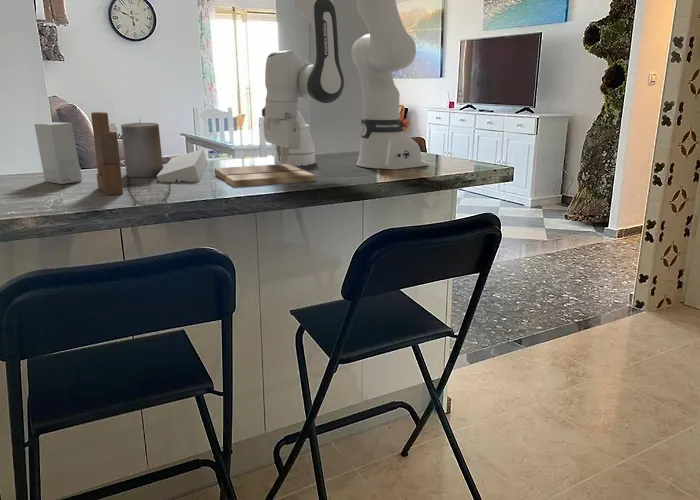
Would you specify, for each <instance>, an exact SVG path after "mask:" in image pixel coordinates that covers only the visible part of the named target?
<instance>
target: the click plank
mask: <svg viewBox="0 0 700 500" xmlns="http://www.w3.org/2000/svg"><path fill="white" fill-rule="evenodd" d="M289 171H303V169H301V168H300V167H298V166H293V165H291V164H279V165H278V164H264V165H251V166H249V165H248V166H231V167H216V168H215V167H214V175H215V176H217V177H218V178H220V179H221V180H222V181H225V182H226V180H225V176H227V175H242V174H258V173H273V172H289Z"/></svg>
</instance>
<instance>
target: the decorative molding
mask: <svg viewBox="0 0 700 500" xmlns="http://www.w3.org/2000/svg"><path fill="white" fill-rule="evenodd" d="M207 164H208V159H207V157H206V153H205V151H204V148H202V149H198V150H195V151H192V152H191V151H190V152H188V153H185V154H182V155H177V156H174V157H173V156H172V157H171V158H170V160H169V161H168V162H166V164H165V166H163V169H162V170H161V171H160V172H159V173H158V175H157V176H155V177H156V178H157V179H158V181H159V183H165V182H166V183H175V182H177V183H179V182H182V181H183V182H189V183H191V182H193V183H194V182H200V181H201V179H202V177H203V174H204V171H205V169H206V167H207Z"/></svg>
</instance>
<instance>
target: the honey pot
mask: <svg viewBox="0 0 700 500" xmlns="http://www.w3.org/2000/svg"><path fill="white" fill-rule="evenodd" d="M296 120H297V121H298V122H299V125H300V136H301V146H300V148H299V149H289V153H288V156H287V158H288V161H287V162H286V163H282V162H280V161H278V160H277V152H276V149H275V145H274V146H273V149H274V150H273V151H274V152H273V158H274V162H273V163H274V165H279V164H291V165H293V166H295V167H302V166H301V165H303V166H310V165H309V164H311V165H314V164H315V163H316V161H315V160H316V159H315V158H316V154H315V151H316V150H315V144H314V143H313V138H312V135H311V132H310V131H309V129H310V124H307V122H306V121H305V119H304V117H303V115H302V113H301V112H300V111H299V110H298V118H297V119H296ZM313 163H314V164H313Z"/></svg>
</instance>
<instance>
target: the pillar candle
mask: <svg viewBox="0 0 700 500" xmlns="http://www.w3.org/2000/svg"><path fill="white" fill-rule="evenodd" d="M120 126H121V139H122V145H123V155H124V165H125V172H126V176H127V177H130V178H152V177H156V176H157V175H158V173H159V172H160V171H161V170H162V169H163V168H164V165H163V164H164V163H163V154H162V144H161V136H160V135H161V134H160V127H159V123H157V122H141V119H139V122H129V123H123V124H120Z"/></svg>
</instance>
